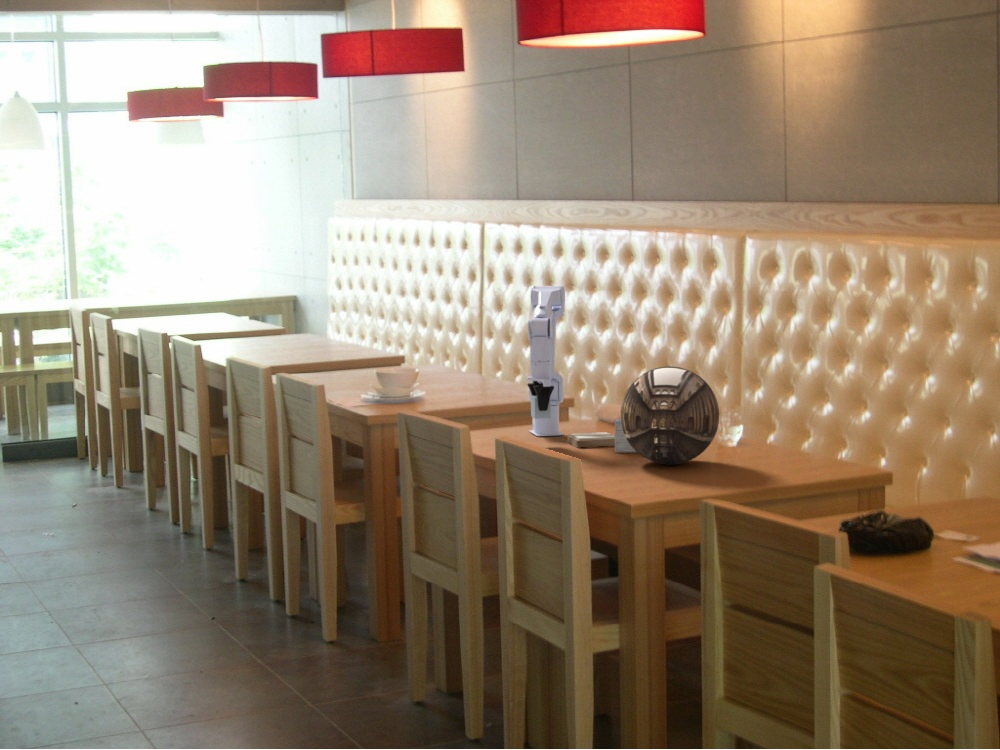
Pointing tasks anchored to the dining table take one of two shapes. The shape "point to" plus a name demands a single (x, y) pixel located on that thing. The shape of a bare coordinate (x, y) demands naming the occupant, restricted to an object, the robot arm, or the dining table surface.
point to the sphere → (669, 415)
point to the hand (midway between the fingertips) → (540, 409)
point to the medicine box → (621, 439)
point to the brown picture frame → (591, 439)
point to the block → (535, 409)
